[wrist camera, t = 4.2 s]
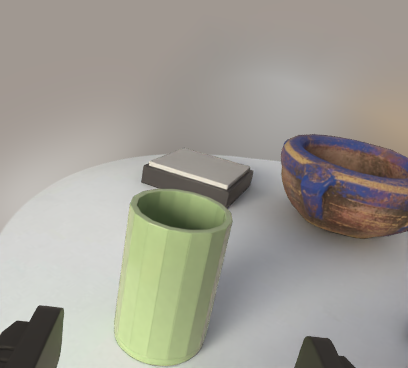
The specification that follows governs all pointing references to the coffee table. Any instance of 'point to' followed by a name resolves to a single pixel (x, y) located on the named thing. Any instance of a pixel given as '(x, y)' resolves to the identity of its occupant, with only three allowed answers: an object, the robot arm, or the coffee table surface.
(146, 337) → the light green cup
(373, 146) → the bowl
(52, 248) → the coffee table surface
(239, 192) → the kitchen scale
